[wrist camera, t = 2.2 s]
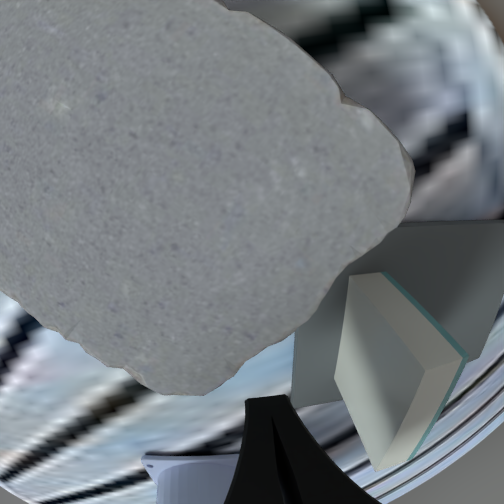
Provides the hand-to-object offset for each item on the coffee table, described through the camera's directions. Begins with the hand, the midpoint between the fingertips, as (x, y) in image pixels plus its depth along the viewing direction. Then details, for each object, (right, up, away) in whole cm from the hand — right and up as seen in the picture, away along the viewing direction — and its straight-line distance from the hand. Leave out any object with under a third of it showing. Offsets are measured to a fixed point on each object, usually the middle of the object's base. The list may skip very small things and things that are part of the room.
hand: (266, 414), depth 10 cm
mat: (+8, +2, +5) cm, 10 cm away
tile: (+5, +2, +4) cm, 6 cm away
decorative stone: (-4, +10, +1) cm, 11 cm away
